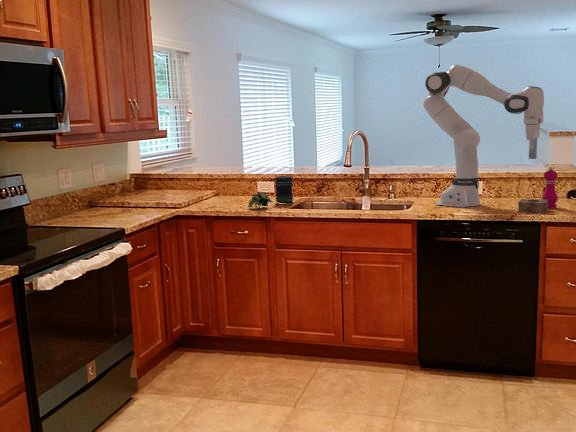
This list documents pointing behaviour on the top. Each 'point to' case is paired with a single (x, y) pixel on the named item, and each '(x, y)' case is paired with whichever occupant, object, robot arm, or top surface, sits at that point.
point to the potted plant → (259, 199)
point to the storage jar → (284, 189)
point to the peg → (533, 150)
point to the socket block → (533, 206)
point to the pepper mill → (550, 188)
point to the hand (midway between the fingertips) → (532, 148)
